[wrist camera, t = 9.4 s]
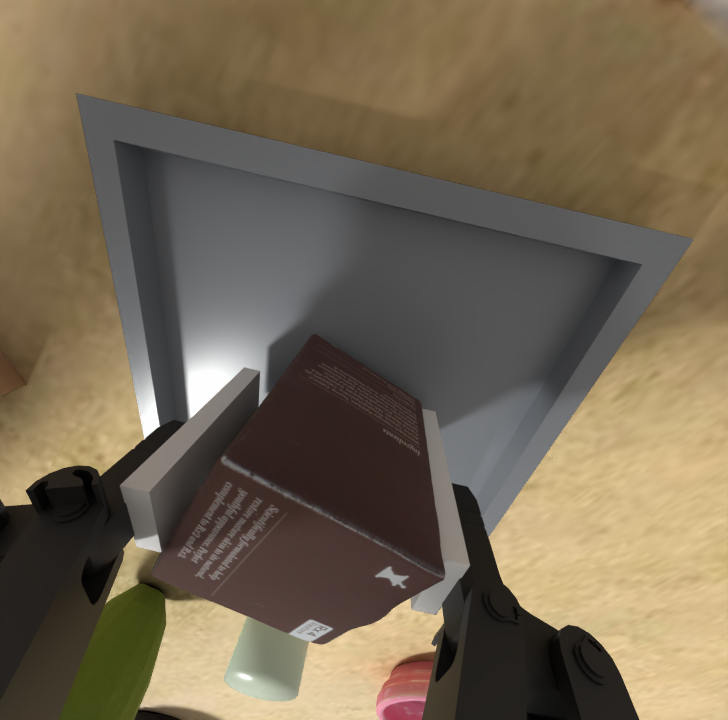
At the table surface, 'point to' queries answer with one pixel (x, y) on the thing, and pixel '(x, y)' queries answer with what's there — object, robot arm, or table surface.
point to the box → (315, 505)
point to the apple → (119, 658)
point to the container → (151, 716)
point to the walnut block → (8, 376)
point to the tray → (362, 284)
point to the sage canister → (266, 663)
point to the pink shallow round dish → (405, 692)
